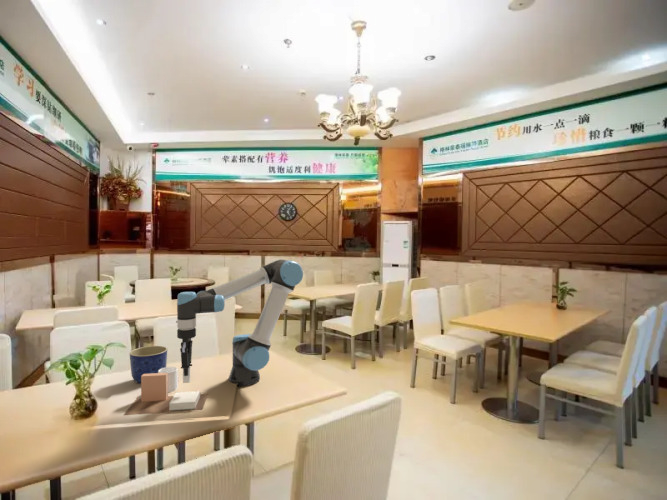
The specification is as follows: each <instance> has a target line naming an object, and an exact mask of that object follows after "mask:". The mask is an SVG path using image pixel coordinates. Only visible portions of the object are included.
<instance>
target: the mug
mask: <svg viewBox="0 0 667 500" xmlns="http://www.w3.org/2000/svg"><path fill="white" fill-rule="evenodd" d="M178 371H179V369H178V367H177V366H166V367H165V368H162V369H160V370H158V373H168V393H172V392H174V391H175V392H176V390H177V389H178V387H179V385H178V384H179V382H178V381H179V380H178V379H179V377H178V375H179V374H178Z"/></svg>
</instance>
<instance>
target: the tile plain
mask: <svg viewBox="0 0 667 500" xmlns="http://www.w3.org/2000/svg"><path fill="white" fill-rule="evenodd" d="M140 386H141V388H140V393H141V394H140V396H141V397H140V398H141V402H144V401H160V400H166V399H167V398H168V396H169V392H168V373H151V374H143V375H142V376H141V385H140Z"/></svg>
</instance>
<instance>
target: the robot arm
mask: <svg viewBox="0 0 667 500" xmlns="http://www.w3.org/2000/svg"><path fill="white" fill-rule="evenodd" d="M303 277H304V271H303V267H302V266H301V265H300V264H299V263H298V262H296V261H293V260H287V259H286V260H285V259H277V260H275V261H272V262H270V263H268V264H265V265H263V266H260V268H259V269H258V270H255V271H252V272H251V273H248V274H246V275H243V276H240V277H238V278H236V279H232V280H229V281H227V282H225V283H222V284H221V285H217V286H215V287H213V288H210V289H207V290H200V291H198V292H197V293H196V292H195V291H182V292H180V293H178V294H177V301H176V310H177V311H176V314H177V315H176V316H177V320H176V321H175V323H176V324H177V325H176V326H177V330H176V332H177V334H176V337H177V338H178V339H179V340H181V343H180V349H179V351H180V357H181V358H180V361H181V367H180V369H181V370H182V384H190V383H191V367H192V366H193V364H192V355H193V351H192V349H193V340H192V339H194V338H195V337H196V336H197V328H196V327H197V314H205V313H206V314H207V313H208V314H209V313H211V314H212V313H220V312H223V311H224V310H225V302H226V300H228V299H231V298H233V297H235V296H238V295H241V294H243V293H245V292H247V291H250V290H253V289H255V288H257V287H260V286H262V285H270V284H271V286H272V288H271V289H270V292H269V294H268V296H267V299H266V302H265V303H264V307H263V308H262V311H261V312H260V313H261V314H260V316H259V317H258V320H257V323H256V325H255V328H254V330H253V333H244V334H237V335H235V336H233V337H232V341H231V342H232V367H231V370H230V373H229V376H228V381H229V382H230V383H232V384H235V385H236V386H237V387H238V386H239V387H246V386H252V385H254V384H257V383H258V382H260V379H261V378H260V377H261V376H260V375H261V374H260V372H259V371H260V370H262V369H264V368H265V367H266V366H267V364H268V363H269V361H270V352H269V351H270V348H271V346H272V342H271V337H272V335H273V332H274V331H275V328H276V325H277V323H278V321H279V318H280V315H281V313H282V310H283V308H284V306H285V303H286V302H287V299H288V297H289V294H291V293H292V292H294V290H295V288H296V286H297V285H298V284H300V283H301V282H302V280H303Z"/></svg>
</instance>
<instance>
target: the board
mask: <svg viewBox="0 0 667 500" xmlns="http://www.w3.org/2000/svg"><path fill="white" fill-rule="evenodd" d="M208 395H209V393H202V394H201V393H200V398H199V400H198V403H197V405H196V408H195V409H187V410H172V411H171V410H169V403H170V401H171V400H172V398H173V396H174V395H168V398H167V399H166V400H160V401H144V402H141V397H137V398H136V399H135V400H134V402H132V403H131V405H130V406H129V407H128V409H127V410H126V411H125V412H124V413H123V416H132V415H146V414H147V415H149V414H161V413H176V412H189V411H190V412H191V411H192V412H193V411H202V410H203V409H204V406H205V403H206V402H207V401H206V400H207V398H208Z"/></svg>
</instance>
